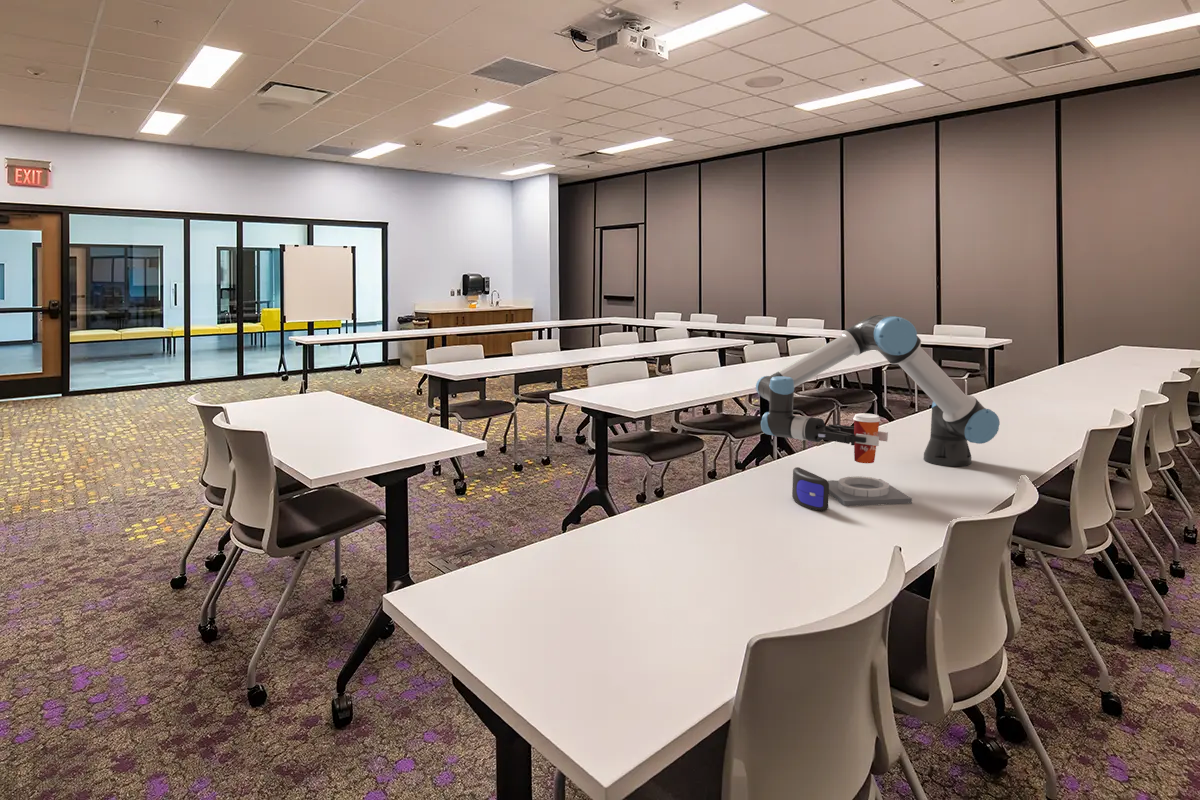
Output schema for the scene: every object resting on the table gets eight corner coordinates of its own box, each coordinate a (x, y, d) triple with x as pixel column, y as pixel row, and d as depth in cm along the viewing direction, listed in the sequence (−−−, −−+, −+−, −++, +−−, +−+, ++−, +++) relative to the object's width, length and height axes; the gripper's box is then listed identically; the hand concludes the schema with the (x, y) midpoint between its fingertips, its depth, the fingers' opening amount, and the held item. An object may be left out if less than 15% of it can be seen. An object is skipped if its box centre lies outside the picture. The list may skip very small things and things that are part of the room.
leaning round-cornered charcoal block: (783, 497, 209) (784, 467, 208) (797, 495, 211) (798, 465, 209) (815, 514, 194) (816, 481, 192) (829, 512, 195) (830, 480, 194)
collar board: (880, 483, 221) (880, 472, 220) (911, 503, 201) (912, 491, 201) (818, 485, 220) (818, 475, 219) (844, 506, 200) (844, 494, 200)
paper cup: (865, 465, 204) (868, 418, 201) (845, 459, 210) (847, 414, 208) (883, 462, 207) (886, 416, 205) (863, 456, 214) (866, 412, 212)
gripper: (821, 435, 227) (893, 445, 212) (794, 446, 213) (869, 458, 198) (822, 412, 226) (895, 421, 211) (795, 422, 211) (871, 432, 196)
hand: (882, 439), depth 204 cm, fingers closed on paper cup, 6 cm apart
